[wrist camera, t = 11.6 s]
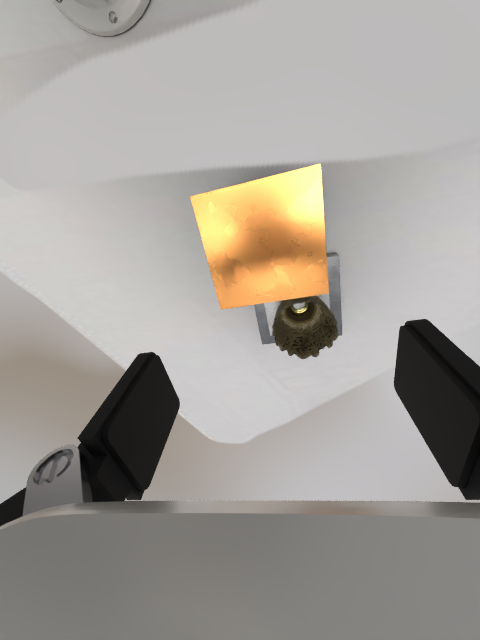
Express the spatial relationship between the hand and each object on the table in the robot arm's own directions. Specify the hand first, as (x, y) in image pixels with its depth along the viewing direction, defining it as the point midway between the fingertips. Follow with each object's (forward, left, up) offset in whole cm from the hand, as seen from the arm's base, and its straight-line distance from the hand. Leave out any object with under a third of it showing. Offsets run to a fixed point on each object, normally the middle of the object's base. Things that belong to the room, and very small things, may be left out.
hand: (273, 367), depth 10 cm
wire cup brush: (+9, +2, -26) cm, 27 cm away
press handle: (-3, 0, -21) cm, 21 cm away
